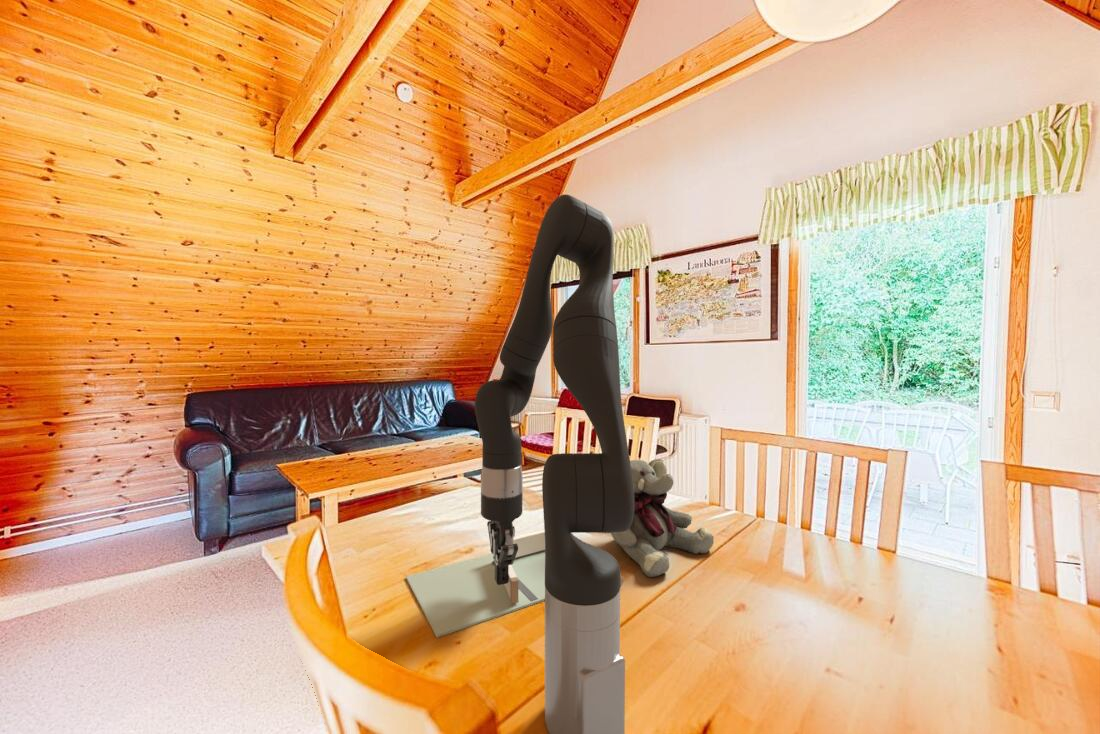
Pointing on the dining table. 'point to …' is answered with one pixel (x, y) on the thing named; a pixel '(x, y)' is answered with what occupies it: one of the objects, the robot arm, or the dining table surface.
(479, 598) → the board
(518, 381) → the robot arm
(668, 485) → the plush elephant
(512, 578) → the gate
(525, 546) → the fence fixed
